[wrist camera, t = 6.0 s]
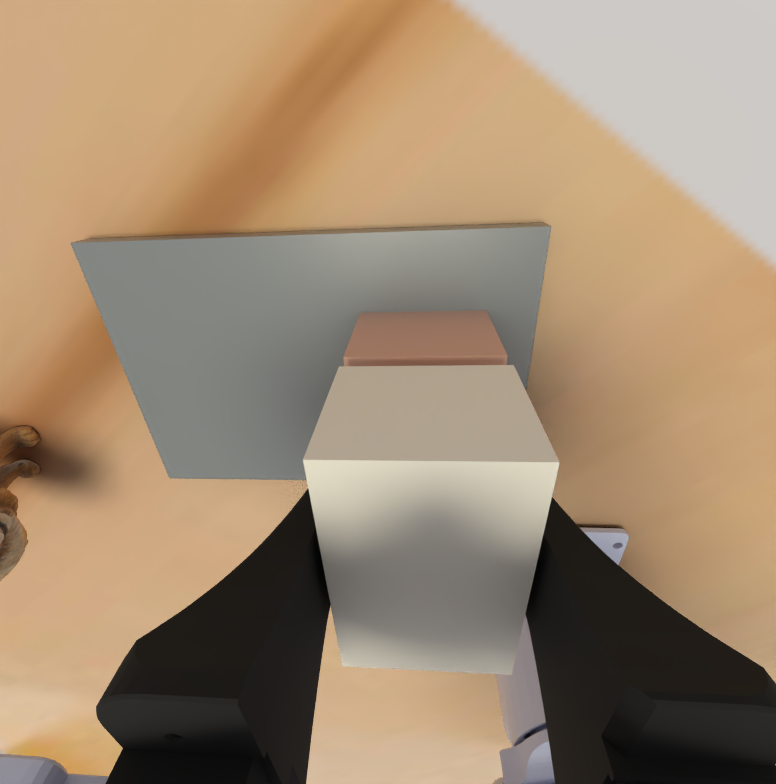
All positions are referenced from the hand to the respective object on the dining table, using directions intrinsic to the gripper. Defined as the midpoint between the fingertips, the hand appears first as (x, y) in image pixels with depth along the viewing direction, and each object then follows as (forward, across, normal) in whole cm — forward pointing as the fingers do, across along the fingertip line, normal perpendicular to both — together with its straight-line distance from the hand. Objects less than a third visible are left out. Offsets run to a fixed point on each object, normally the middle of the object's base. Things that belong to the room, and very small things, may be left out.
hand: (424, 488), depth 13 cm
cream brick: (+1, 0, 0) cm, 1 cm away
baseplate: (+7, +4, -1) cm, 8 cm away
